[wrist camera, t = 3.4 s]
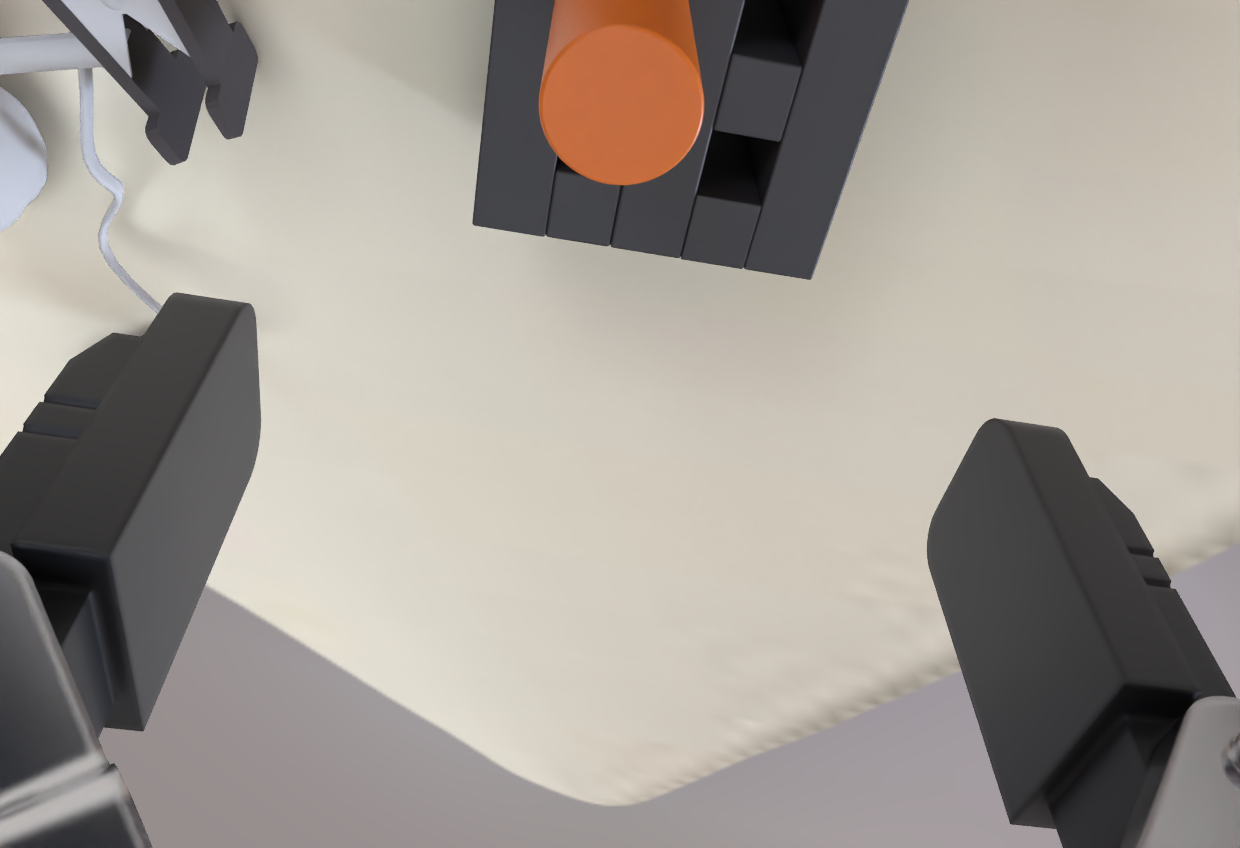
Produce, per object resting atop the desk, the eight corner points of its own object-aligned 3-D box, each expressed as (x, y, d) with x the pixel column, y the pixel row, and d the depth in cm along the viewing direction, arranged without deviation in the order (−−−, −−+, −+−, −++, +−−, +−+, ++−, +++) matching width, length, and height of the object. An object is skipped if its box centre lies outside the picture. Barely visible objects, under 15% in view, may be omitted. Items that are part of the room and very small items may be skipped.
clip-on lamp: (344, 298, 40) (174, -215, 25) (332, 426, 36) (124, -96, 21) (35, 325, 39) (-315, -184, 25) (-11, 458, 35) (-457, -56, 21)
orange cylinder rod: (686, -117, 27) (722, 43, 18) (663, -2, 29) (684, 199, 19) (576, -139, 27) (550, 10, 17) (560, -22, 29) (528, 172, 19)
